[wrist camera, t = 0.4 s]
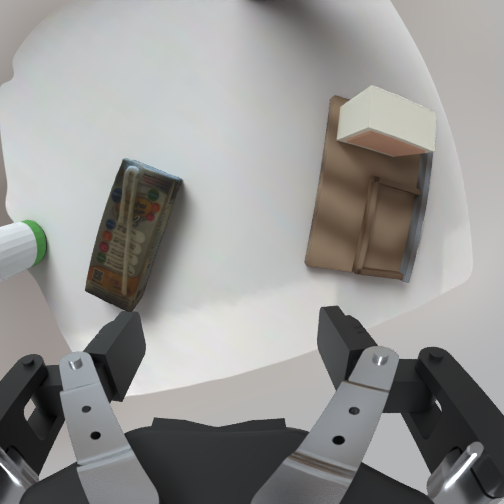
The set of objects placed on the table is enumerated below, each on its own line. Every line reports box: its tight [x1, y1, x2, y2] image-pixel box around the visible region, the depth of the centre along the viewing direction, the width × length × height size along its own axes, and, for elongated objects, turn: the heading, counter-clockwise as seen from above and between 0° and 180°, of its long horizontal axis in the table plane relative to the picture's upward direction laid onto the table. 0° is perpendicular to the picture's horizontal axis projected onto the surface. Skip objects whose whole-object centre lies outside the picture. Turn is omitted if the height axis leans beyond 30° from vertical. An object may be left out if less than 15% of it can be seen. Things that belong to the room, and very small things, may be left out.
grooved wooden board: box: [305, 95, 433, 283], centre depth 36 cm, size 24×16×4 cm
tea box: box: [337, 85, 437, 157], centre depth 29 cm, size 5×9×10 cm, turn 81°
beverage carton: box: [85, 158, 182, 312], centre depth 35 cm, size 8×19×7 cm, turn 156°
